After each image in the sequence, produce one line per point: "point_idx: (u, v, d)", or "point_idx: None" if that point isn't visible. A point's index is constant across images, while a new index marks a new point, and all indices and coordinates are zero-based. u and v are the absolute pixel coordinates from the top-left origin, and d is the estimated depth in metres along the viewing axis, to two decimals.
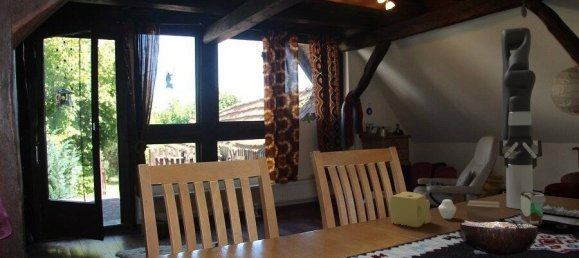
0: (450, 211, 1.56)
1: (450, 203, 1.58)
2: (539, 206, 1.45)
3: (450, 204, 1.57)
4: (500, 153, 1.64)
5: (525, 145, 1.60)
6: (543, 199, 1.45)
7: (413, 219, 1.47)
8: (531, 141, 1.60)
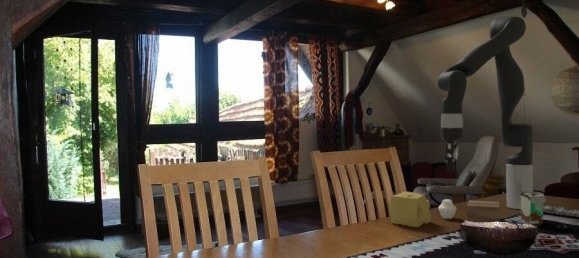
0: (450, 211, 1.56)
1: (450, 203, 1.58)
2: (539, 206, 1.45)
3: (450, 204, 1.57)
4: (453, 158, 1.52)
5: None
6: (543, 199, 1.45)
7: (413, 219, 1.47)
8: None
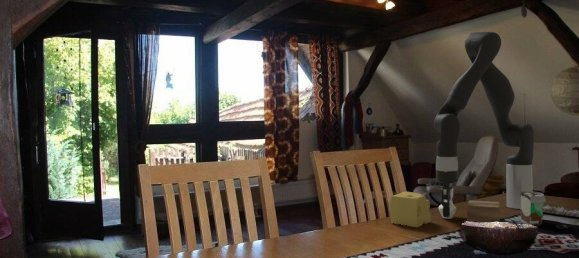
0: (450, 211, 1.56)
1: (450, 203, 1.58)
2: (540, 206, 1.45)
3: (450, 204, 1.57)
4: (449, 203, 1.53)
5: None
6: (543, 199, 1.45)
7: (413, 219, 1.47)
8: None
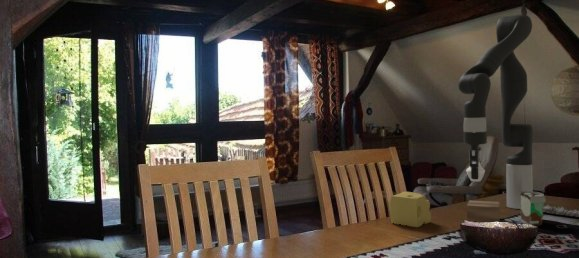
0: (478, 173, 1.53)
1: (478, 165, 1.54)
2: (540, 206, 1.45)
3: None
4: (477, 164, 1.50)
5: (481, 152, 1.56)
6: (543, 199, 1.45)
7: (413, 219, 1.47)
8: None
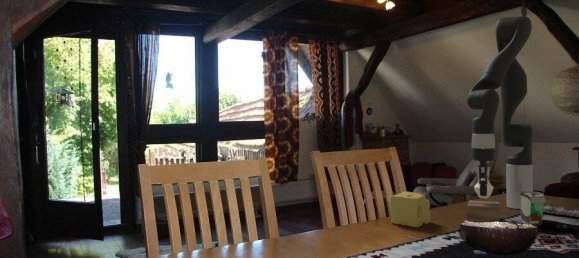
0: (487, 190, 1.51)
1: (487, 182, 1.52)
2: (540, 206, 1.45)
3: None
4: (486, 181, 1.48)
5: None
6: (543, 199, 1.45)
7: (413, 219, 1.47)
8: None
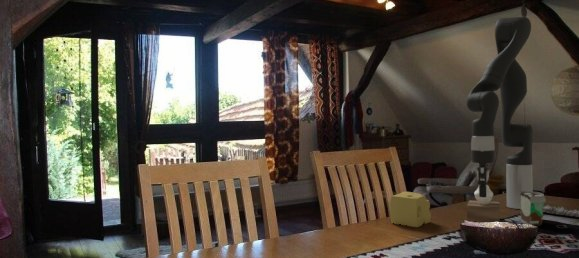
0: (487, 196, 1.51)
1: (487, 188, 1.52)
2: (540, 206, 1.45)
3: (487, 189, 1.52)
4: (486, 182, 1.47)
5: None
6: (543, 199, 1.45)
7: (413, 219, 1.47)
8: None
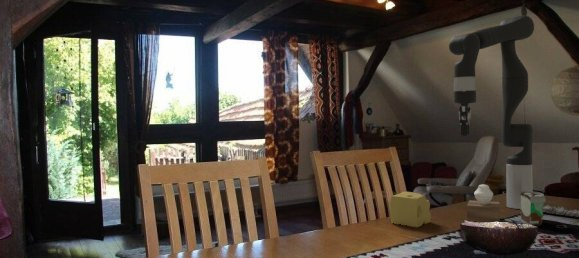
0: (487, 196, 1.51)
1: (487, 188, 1.52)
2: (540, 206, 1.45)
3: (487, 189, 1.52)
4: (467, 120, 1.52)
5: None
6: (543, 199, 1.45)
7: (413, 219, 1.47)
8: None
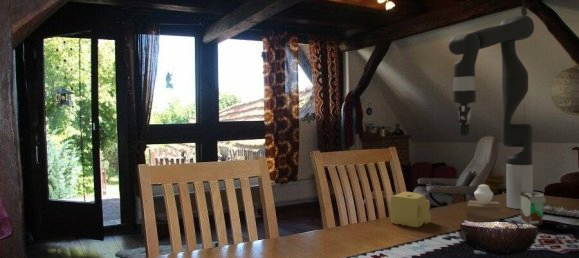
0: (487, 196, 1.51)
1: (487, 188, 1.52)
2: (540, 206, 1.45)
3: (487, 189, 1.52)
4: (467, 120, 1.52)
5: (470, 111, 1.59)
6: (543, 199, 1.45)
7: (413, 219, 1.47)
8: None
